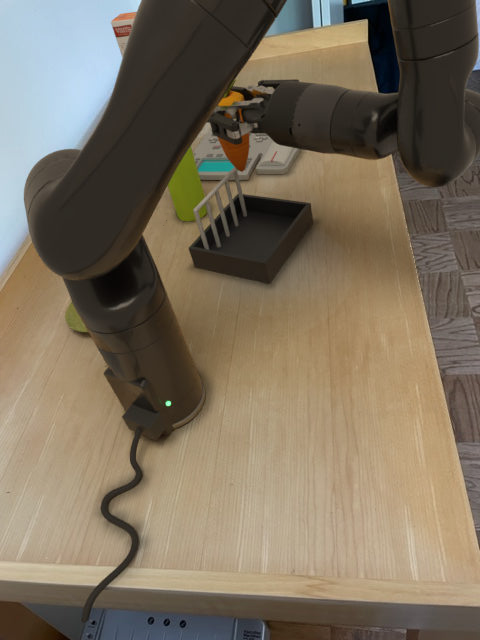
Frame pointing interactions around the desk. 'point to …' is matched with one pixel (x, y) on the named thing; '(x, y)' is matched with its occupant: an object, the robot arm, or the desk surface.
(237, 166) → the carrot
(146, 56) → the robot arm
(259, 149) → the office telephone
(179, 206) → the soap dispenser
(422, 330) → the desk surface
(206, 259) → the drying rack
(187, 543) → the desk surface
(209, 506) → the desk surface
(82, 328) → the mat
